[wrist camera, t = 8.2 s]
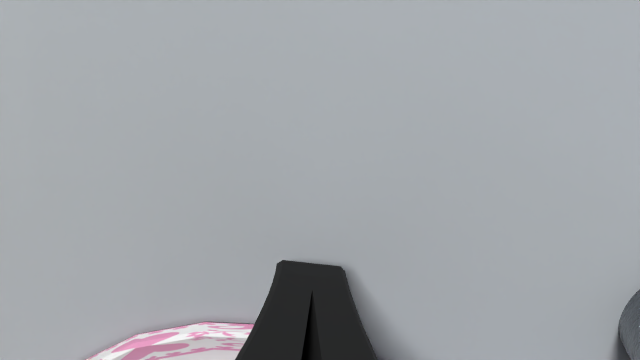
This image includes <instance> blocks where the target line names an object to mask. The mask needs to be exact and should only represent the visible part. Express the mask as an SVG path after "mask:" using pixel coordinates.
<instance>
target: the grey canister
mask: <svg viewBox="0 0 640 360" xmlns="http://www.w3.org/2000/svg"><path fill="white" fill-rule="evenodd" d="M619 336H620V339H621V342H622V344H623V345H624V347H625V349H626V351H627V353H628V355H629V357H630V359H631V360H640V290H639V291H637V292H636V294H635V295H634V296H633V297H632V298H631V299H630V301H629V302H628V304H627V305H626V306H625V308H624V310H623V312H622V315H621V318H620V321H619Z"/></svg>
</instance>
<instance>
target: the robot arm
mask: <svg viewBox="0 0 640 360" xmlns="http://www.w3.org/2000/svg"><path fill="white" fill-rule="evenodd" d="M235 360H378V359H377V357H376V355H375V353H374V350H373V348H372V346H371V344H370V341H369V339H368V337H367V335H366V332H365V330H364V328H363V325H362V323H361V320H360V318H359V315H358V312H357V309H356V307H355V304H354V301H353V298H352V295H351V292H350V289H349V286H348V282H347V278H346V274H345V271H344V270H343V269H342V268H341V267H340V266H331V265H322V264H313V263H304V262H295V261H286V260H282V261H281V262H279V263H277V266H276V272H275V276H274V279H273V283H272V286H271V288H270V291H269V294H268V296H267V298H266V301H265V303H264V306H263V308H262V310H261V312H260V314H259V316H258V318H257V320H256V322H255V324H254V326H253V328H252V330H251V332H250V334H249V336H248V338H247V340H246V341H245V343H244V345H243V347H242V348H241V350H240V352H239V353H238V355H237V357H236V358H235Z"/></svg>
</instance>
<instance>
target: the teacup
mask: <svg viewBox="0 0 640 360" xmlns="http://www.w3.org/2000/svg"><path fill="white" fill-rule="evenodd" d="M253 326H254V324H234V323H212V322H203V323H197V324H192V325H186V326H181V327H175V328H170V329H164V330H159V331H153V332H148V333H142V334H137V335H135V336H133V337H130V338H128V339H126V340H124V341H122V342H120V343H118V344H116V345H114V346H112V347H110V348H108V349H106V350H104V351H102V352H100V353H98V354H96V355H94V356H92V357H90V358H88V359H85V360H235V358H236V357H237V355H238V353H239V352H240V350H241V348H242V347H243V345H244V343H245V341H246V340H247V338H248V336H249V334H250V332H251V330H252V328H253Z"/></svg>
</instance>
